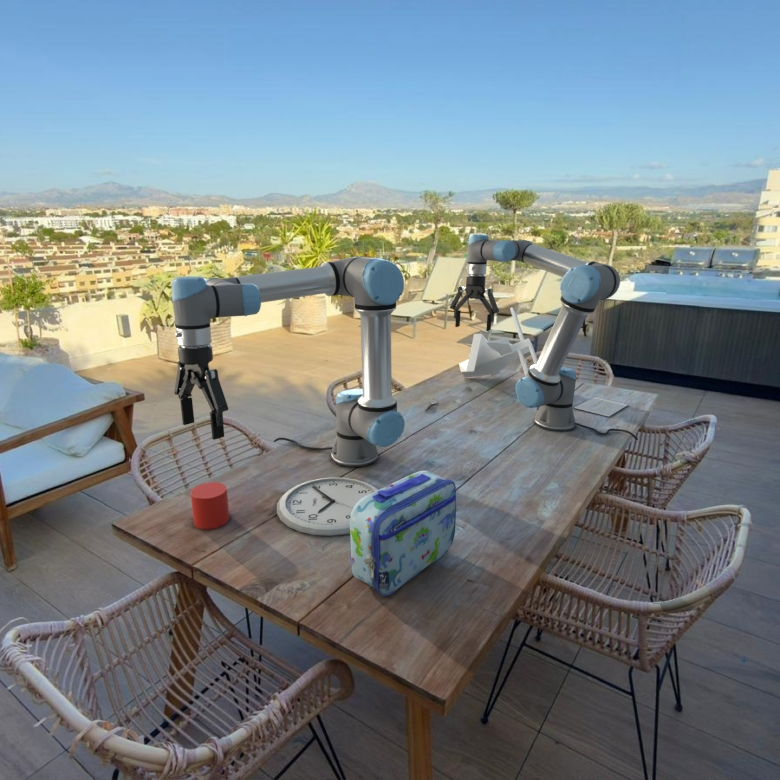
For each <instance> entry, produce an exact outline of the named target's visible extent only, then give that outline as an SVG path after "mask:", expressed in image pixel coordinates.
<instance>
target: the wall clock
mask: <svg viewBox="0 0 780 780" xmlns="http://www.w3.org/2000/svg"><path fill="white" fill-rule="evenodd" d="M378 490H380V489H379V488H377V487H376V486H374V485H372V484H371V483H369V482H365V481H362V480H359V479H355V478H349V477H338V476H337V477H335V476H333V477H332V476H331V477H322V478H317V479H312V480H307V481H305V482H302V483H299V484H297V485H295V486H293V487H292V488H290V489H288V490H287V491H286V492H285V493H284V494H283V495H281V496H280V498H279V499H278V502H277V503H276V515H277V517H278V518H279V520H280V521H281V522H282V523H283V524H285V525H286V526H287V527H288V528H290V529H293V530H295V531H297V532H299V533H303V534H308V535H312V536H327V537H328V536H329V537H331V536H332V537H333V536H342V535H350V517H351V513H352V510H353V508H354V506H355V505H356V503H357V502H358V501H359V500H360V499H362V498H364V497H365V496H367V495H370V494H372V493H374V492H376V491H378Z"/></svg>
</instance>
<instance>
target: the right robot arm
mask: <svg viewBox="0 0 780 780" xmlns="http://www.w3.org/2000/svg"><path fill="white" fill-rule="evenodd" d="M488 261H490V262H492V261H493V262H500V263H505V262H506V263H507V262H510V261H511V262H512V261H518V262H520V263H524V264H526V265H529V266H531V267H534V268H537V269H539V270H542V271H545V272H547V273H550V274H553V275H555V276H558V277H561V278H562V279H561V280H560V283H559V285H560V286H559V290H560V291H561V292H560V295H561V296H560V299H559V301H560V303H561V307H560V309H559V312H558V314H557V316H556V319H555V321H554V323H553V326H552V328H551V330H550V332H549V334H548V337H547V339H546V340H545V343H544V345H543V348H542V350H541V352H540V354H539V356H538V358H537V360H538V361H537V363H536V364H534V363H533V364H532V365H531V366H529V368H528V373H527V375H526V377H525V376H524V377H521V378H520V379H519V380H517V382H516V384H515V395H516V397H517V399H518V401H519V402H520V404H521V405H523V406H524V407H526V408H529V409H536V413H535V417H534V424H535V425H536V426H537V427H539V428H542V429H544V430H549V431H556V432H567V431H572V430H574V429H575V428H576V426H578V427H581V428H583V429H584V428H585V429H587V430H591V431H594V432H595V433H596V434H598V435H600V436H607V435H609V433H610V432H623V433H626V434H629V435H630V436H631V437H633V438H634V440H636V441H638V440H639V438H638V437H637V436H636V435H635V434H634V433H633V432H631V431H629V430H627V429H622V428H608V429H607V430H606V432H600V431H599V430H598V429H596V428H593V427H591V426H588V425H584V424H582V423H578V422H576V418H575V417H576V416H575V413H574V407H573V405H574V398H575V391H576V383H577V372H576V370H575V369H573V368H571V367H566V366H564V364H565V361H566V359H567V358H568V355H569V353H570V351H571V349H572V347H573V345H574V343H575V342H576V339H577V337H578V335H579V332H580V331H581V328H582V326H583V324H584V322H585V320H586V318H587V316H588V315H590V314H593V313H594V312H595V310H596V308H597V307H598V304H599V302H600V301H604V300H607V299H610V298H612V297H613V296H614V295H615V294H616V293H617V292H618V291H619V288H620V286H621V276H620V274H619V272H618V270H617V269H616V268H615V267H613V266H611V265H609V264H604V263H601V262H598V261H595V260H592V261H589V262H588V261H585V260H582V259H579V258H576V257H573V256H570V255H567V254H564V253H561V252H558V251H554V250H552V249H550V248H545V247H543V246H540V245H536V244H534V243H533V242H532V241H531V240H526V239H519V240H518V239H517V240H514V239H513V240H510V239H509V240H507V239H505V240H504V239H501V240H500V239H499V240H496V239H494V240H493V239H489V234H484V233H483V234H481V233H478V234H477V233H476V234H474V233H471V234H470V235H469V237H468V244H467V262H466V274H467V275H466V280H465V286H464V285H460V286H458V287H457V292H456V295H454V298H453V300H452V302H451V304H450V306H449V309H450V310H451V309H452V310H453V318H454V319H455V322H454V323H455V325H454V327H455V328H458V327H460V326H461V310H460V309H461V308H462V307H463V306H464V304H465V303H466V302H467V301H468V300H473V299H474V300H479V301H480V303H482V304H483V306H484V308H485V309H486V311H487V312H488V314H487V316H486V332H489V331H491V330H492V323H494V320H495V314H498V313H499V312H500V309H499V307H498V304H497V301H496V299H495V295H494V289H493V288H492V287H491V288H486V281H487V278H486V277H487V276H486V274H487V265H488ZM464 292H465V293H466V294H464V296H463V297H462V295H463V293H464ZM485 293H486V295H487V297H486V296H485ZM461 297H462V299H461ZM487 298H488V300H489V301H488V300H487Z"/></svg>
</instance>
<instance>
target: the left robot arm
mask: <svg viewBox="0 0 780 780" xmlns="http://www.w3.org/2000/svg"><path fill="white" fill-rule="evenodd" d="M404 289H405V280H404V276H403V272H402V271H401V269H400V268H399V267H398V266H397V265H396V264H395V263H394V262H392V261H390V260H388V259H387V260H386V259H384V258H380V257H366V256H365V257H364V256H353V257H347V258H342V259H337V260H333V261H324V262H322V263H321V264H320V266H315V267H313V266H312V267H308V268H307V267H305V268H298V269H290V270H281V271H274V272H273V271H272V272H266V273H265V272H264V273H256V274H249V275H241V276H240V275H239V276H233V277H226V278H223V277H222V278H218V277H210V278H207V279H206V278H205V277H204V276H190V275H189V276H178V277H175V278H173V279H172V281H171V300H172V308H173V317H174V325H175V334H174V335H175V338H176V343H177V345H178V347H177V356H178V361H177V371H176V372H177V373H176V378H175V385H174V389H173V390H174V391H173V393H174V395H175V396H177V398H178V399H179V401H180V411H181V420H182V425H183V426H187V425H190V424H194V423H195V414H194V405H193V397H192V396H193V395H192V392H193V390H194V387H195V386H197V388H198V389H200V390H201V392H202V394H203V396H204V398H205V400H206V402H207V404H208V406H209V408H210V410H211V411H210V412H209V417H210V429H211V438H212V439H211V440H213V441H215V440H219V439H222V438H225V428H224V412H227V411H229V405H228V402H227V400H226V397H225V394H224V391H223V388H222V385H221V382H220V379H219V373H218V369H216V368H214V369H210V366H209V364H210V363H211V362H212V361H213V360H214V353H213V352H214V351H213V346H212V342H213V339H212V330H211V319H217V318H230V317H248V316H253V315H258V313H259V312H260V310H261V307H262V304H263V303H268V302H270V303H271V302H275V301H283V300H288V299H289V300H290V299H296V298H303V297H308V296H309V297H310V296H317V295H323V294H324V295H325V296H327V297H335V296H345V297H351V298H354V310H355V311H356V312H357V313H358V314H359V317H360V349H361V351H360V352H361V380H362V381H361V383H362V388H350V389H345V390H341V391H339V392H338V393H337V394H336V398H335V410H336V411H335V412H336V413H335V417H336V419H335V421H336V437H335V440H334V443H333V445H332V446H327V447H326V446H325V447H313V446H305V445H302V444H300V443H299V441H296V440H294V439H290V438H287V437H276V438H275V439H274V440H273V441H272V442H273V443H276V442H278V441H285V442H286V441H287V442H290V443H293V444H295V445H296V446H298V447H299V448H302V449H305V450H312V451H328V450H331V455H330V456H331V460H332V462H333V463H335V464H336V465H339V466H340V467H341V466H342V467H347V468H362V467H367V466H370V465H372V464H374V463H376V462H377V460H378V459H379V451H378V448H377V447H379V448H387V447H389V446H391V445H394V444H396V442H397V441H398V440H399V438H401V436H402V434H403V432H404V429H405V419H404V417H403V415H402V414H401V412H399V411H398V399H397V397H396V396H394V395H393V389H392V388H393V385H392V384H393V383H392V382H393V381H392V379H393V378H392V377H393V376H392V375H393V372H392V313H394V311H395V310H396V309H397V302H398V301H399V300H400V299H401V296H402V295H403V293H404Z"/></svg>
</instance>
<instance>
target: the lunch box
mask: <svg viewBox="0 0 780 780" xmlns="http://www.w3.org/2000/svg"><path fill="white" fill-rule="evenodd" d="M456 519H457V488H456V484H455V482H454V480H452V479H449V478H448V479H447V478H446V479H445V478H442V477H440V476H439V475H437V474H434V473H432V471H428V470H419V471H417V472H414V473H412V474H410V475H407V476H405V477H403V478H400V479H399V480H396V481H394V482H392V483H390V484H388V485H386V486H384V487H382V488H380V489H379V490H378V491H376V492H374V493H372V494H370V495H367V496H365V497H364V498H362V499H360V500H359V501H358V502H357V503H356V505H355V506H354V508H353V510H352V513H351V517H350V533H349V540H350V566H351V573H352V575H353V577H354V578H355V579H357V580H359V581H362V582H363V583H365V584H367V585H368V586H370V587H371V588H373V589H374V590H375V592H376V593H378V594H379V595H381V596H386V597H387V596H390V595H392V594H394V593H395V592H396V591H398V590H399V589H400V588H401V587H402V586H404V585H405V584H407V583H408V582H409V581H411V580H412V579H413V578H415V577H416V576H418V575H419V574H420V573H421V572H423V571H424V570H425V569H426V568H428V566H430V565H432V564H434V563H435V562H437V561H438V560H440V559H441V558H442V557H444V556H445V555H446V554H447V553H448V552H449V550H450V548H451V547H452V545H453V542H454V539H455V535H456V524H457V523H456V522H457V520H456Z"/></svg>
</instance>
